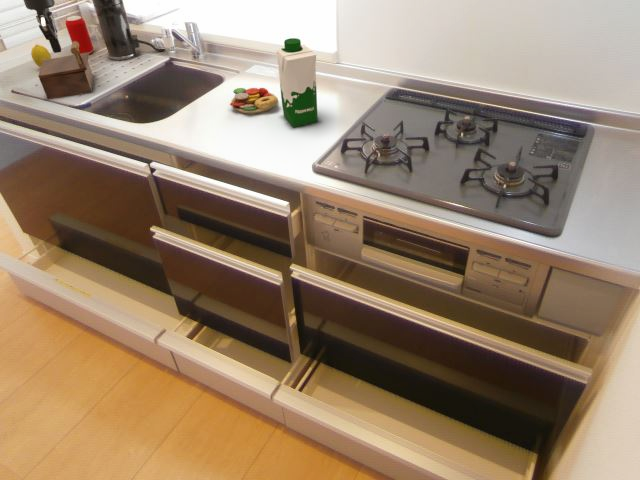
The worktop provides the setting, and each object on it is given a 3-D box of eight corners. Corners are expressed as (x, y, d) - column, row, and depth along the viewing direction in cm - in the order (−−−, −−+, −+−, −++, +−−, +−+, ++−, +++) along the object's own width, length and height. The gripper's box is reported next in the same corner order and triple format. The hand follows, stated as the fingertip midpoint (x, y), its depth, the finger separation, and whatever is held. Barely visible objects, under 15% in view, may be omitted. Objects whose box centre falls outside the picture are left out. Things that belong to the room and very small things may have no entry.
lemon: (50, 71, 167) (41, 47, 162) (34, 72, 168) (24, 47, 162) (57, 65, 172) (48, 41, 166) (41, 65, 172) (32, 41, 167)
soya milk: (309, 109, 139) (305, 35, 127) (322, 122, 133) (319, 46, 120) (279, 116, 137) (272, 41, 124) (291, 130, 131) (285, 52, 118)
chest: (93, 76, 163) (86, 56, 159) (91, 92, 154) (84, 72, 149) (51, 82, 161) (43, 62, 156) (47, 99, 151) (39, 78, 147)
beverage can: (78, 50, 182) (66, 15, 174) (96, 49, 182) (85, 14, 174) (74, 56, 177) (61, 21, 169) (92, 55, 177) (80, 19, 170)
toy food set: (280, 112, 138) (279, 101, 136) (232, 119, 137) (230, 107, 135) (274, 92, 148) (273, 82, 146) (229, 98, 147) (227, 87, 145)
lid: (88, 54, 159) (81, 36, 155) (87, 70, 149) (79, 50, 145) (43, 62, 156) (35, 43, 153) (39, 78, 147) (30, 58, 143)
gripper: (46, -8, 135) (69, 57, 146) (51, -19, 144) (72, 42, 155) (16, -4, 133) (41, 61, 144) (23, -16, 143) (46, 46, 154)
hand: (57, 51), depth 150 cm, fingers closed
